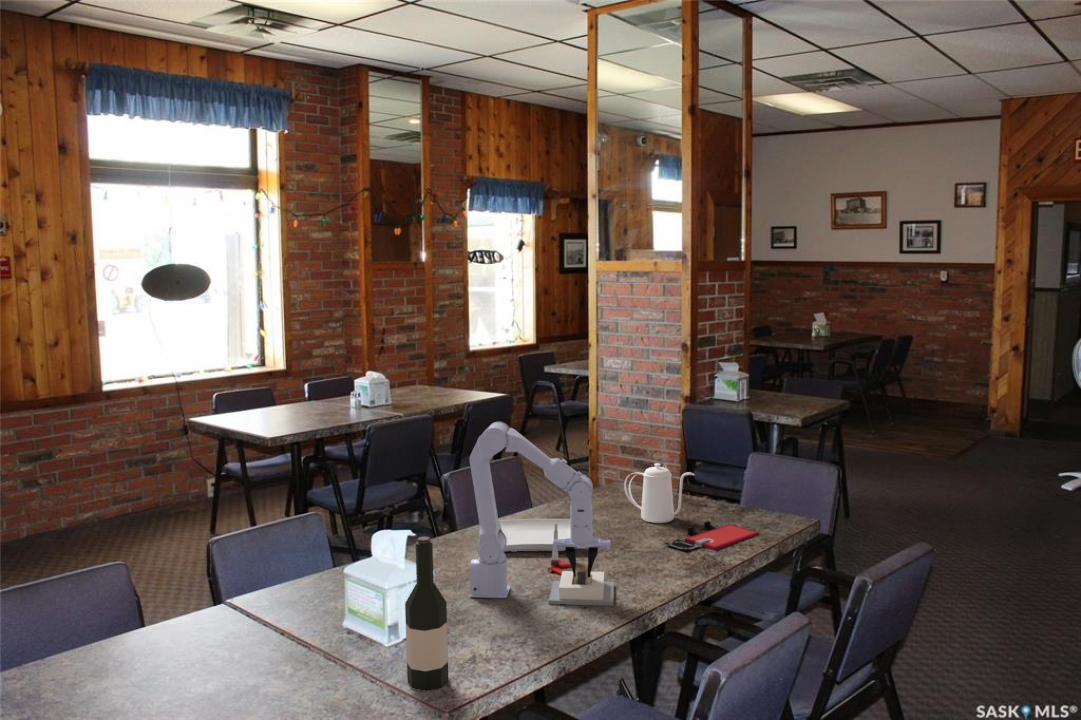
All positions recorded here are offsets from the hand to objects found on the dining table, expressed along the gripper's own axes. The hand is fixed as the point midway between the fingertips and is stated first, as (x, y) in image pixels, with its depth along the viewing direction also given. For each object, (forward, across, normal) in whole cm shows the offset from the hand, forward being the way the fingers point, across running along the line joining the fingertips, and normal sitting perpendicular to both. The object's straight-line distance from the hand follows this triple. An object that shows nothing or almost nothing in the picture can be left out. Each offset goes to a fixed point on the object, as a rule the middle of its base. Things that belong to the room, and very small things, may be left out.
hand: (582, 575), depth 228 cm
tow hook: (+5, -5, +18) cm, 19 cm away
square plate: (+6, -16, +44) cm, 47 cm away
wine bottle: (+5, -29, -50) cm, 58 cm away
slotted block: (+5, 0, 0) cm, 5 cm away
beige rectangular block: (+4, 0, 0) cm, 4 cm away
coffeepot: (+5, +22, +69) cm, 73 cm away
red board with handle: (+6, +37, +48) cm, 61 cm away
